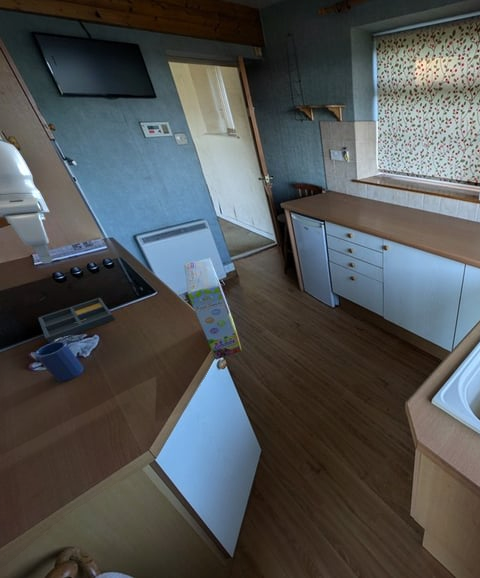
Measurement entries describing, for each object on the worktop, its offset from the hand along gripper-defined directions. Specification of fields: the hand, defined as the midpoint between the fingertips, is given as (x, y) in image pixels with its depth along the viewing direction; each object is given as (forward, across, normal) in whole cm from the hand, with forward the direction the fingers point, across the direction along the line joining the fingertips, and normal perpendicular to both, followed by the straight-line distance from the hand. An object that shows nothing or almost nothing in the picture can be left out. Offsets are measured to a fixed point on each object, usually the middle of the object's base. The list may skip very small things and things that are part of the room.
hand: (48, 262), depth 76 cm
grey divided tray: (+24, -38, -1) cm, 45 cm away
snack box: (+35, +10, +31) cm, 48 cm away
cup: (+33, -8, -7) cm, 35 cm away
